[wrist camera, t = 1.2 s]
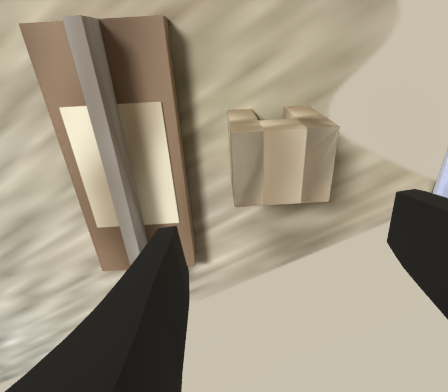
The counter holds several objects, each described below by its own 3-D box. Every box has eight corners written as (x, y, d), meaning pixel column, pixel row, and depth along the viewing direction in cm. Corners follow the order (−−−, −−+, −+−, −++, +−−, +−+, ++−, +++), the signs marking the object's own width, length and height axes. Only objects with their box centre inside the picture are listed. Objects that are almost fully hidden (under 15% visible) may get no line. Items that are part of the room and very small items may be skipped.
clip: (308, 105, 18) (339, 126, 13) (303, 165, 19) (328, 201, 15) (227, 110, 18) (231, 132, 13) (230, 169, 19) (234, 207, 15)
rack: (167, 17, 15) (154, 11, 12) (196, 252, 23) (193, 286, 20) (35, 25, 15) (-12, 20, 12) (109, 257, 23) (92, 292, 20)
